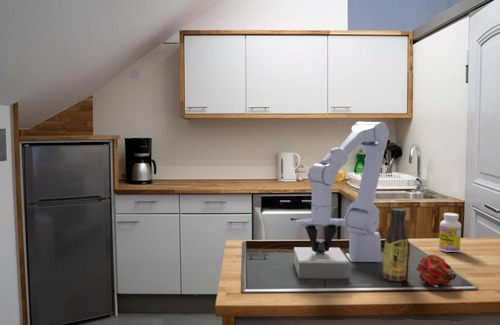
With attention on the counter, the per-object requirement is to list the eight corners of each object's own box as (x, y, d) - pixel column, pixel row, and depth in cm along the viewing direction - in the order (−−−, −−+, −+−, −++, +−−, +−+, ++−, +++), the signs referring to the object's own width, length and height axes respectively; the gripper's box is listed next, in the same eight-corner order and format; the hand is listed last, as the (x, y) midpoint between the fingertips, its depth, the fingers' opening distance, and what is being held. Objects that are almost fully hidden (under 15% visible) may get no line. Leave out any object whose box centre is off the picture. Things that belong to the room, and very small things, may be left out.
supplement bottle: (434, 250, 162) (436, 213, 160) (445, 247, 165) (447, 211, 164) (453, 254, 156) (455, 216, 155) (463, 251, 160) (465, 214, 159)
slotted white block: (338, 263, 146) (339, 247, 145) (348, 278, 132) (348, 261, 131) (293, 262, 145) (294, 247, 145) (298, 278, 132) (299, 260, 131)
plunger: (334, 262, 144) (335, 236, 143) (342, 273, 133) (342, 246, 132) (299, 261, 144) (299, 236, 143) (303, 273, 133) (304, 246, 132)
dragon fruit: (422, 281, 135) (448, 302, 123) (403, 266, 132) (428, 287, 121) (441, 258, 134) (469, 277, 123) (422, 243, 132) (449, 261, 120)
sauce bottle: (394, 284, 127) (396, 212, 126) (377, 277, 133) (380, 208, 131) (411, 280, 130) (414, 210, 129) (395, 274, 136) (397, 206, 134)
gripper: (340, 202, 142) (339, 246, 143) (293, 203, 140) (292, 247, 141) (348, 206, 135) (347, 252, 136) (300, 207, 133) (299, 254, 134)
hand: (320, 250), depth 138 cm, fingers closed on plunger, 3 cm apart
